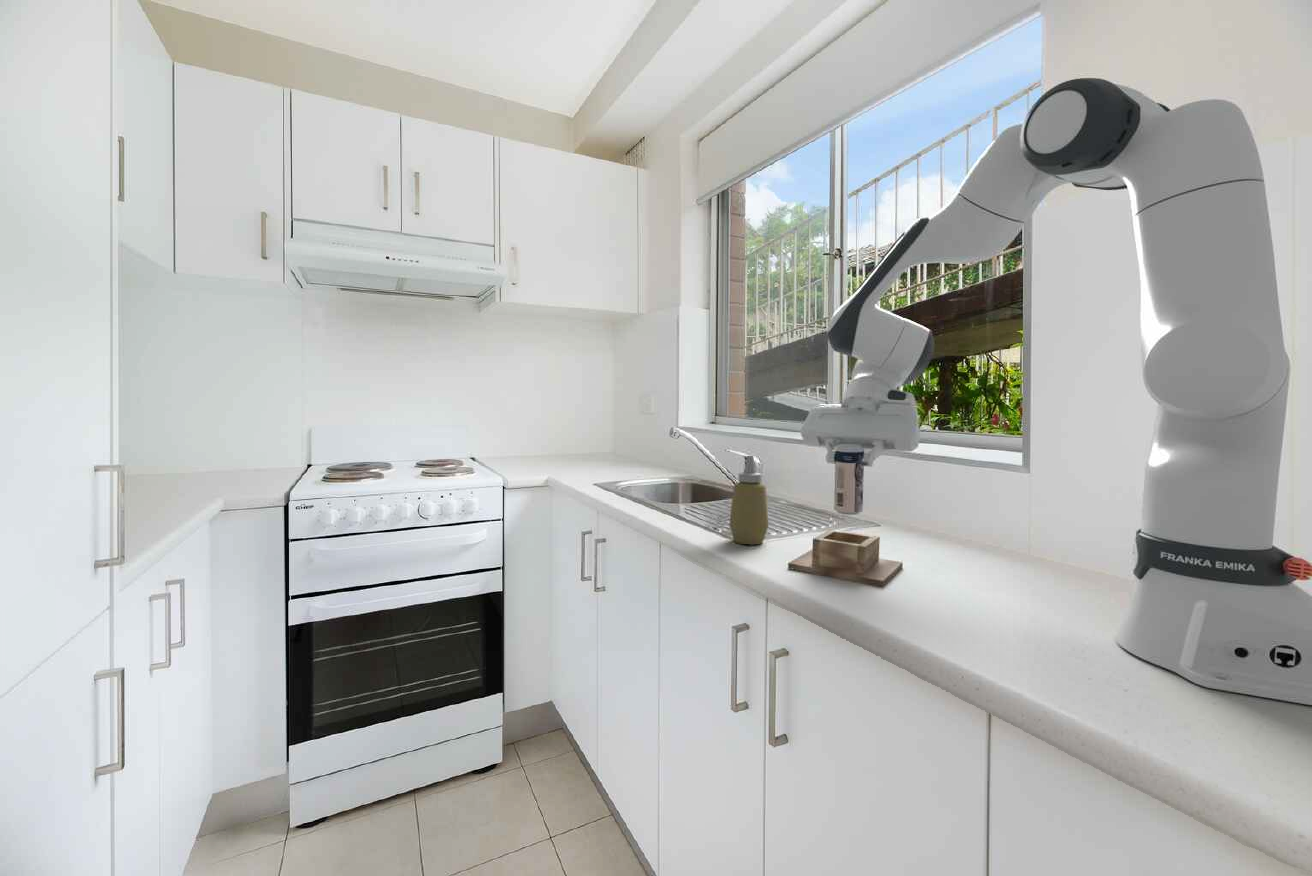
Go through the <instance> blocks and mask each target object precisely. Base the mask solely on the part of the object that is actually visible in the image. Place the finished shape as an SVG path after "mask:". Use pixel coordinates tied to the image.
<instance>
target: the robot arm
mask: <svg viewBox="0 0 1312 876" xmlns="http://www.w3.org/2000/svg"><path fill="white" fill-rule="evenodd" d="M1261 162H1262V161H1261V158H1260V153H1259V150H1258V148H1257V143H1256V141H1255V138H1254V136H1253V133H1252V130H1251V128H1250V125H1249V123H1248V122H1247V119H1246V116H1245V114H1244V113H1243V111H1242V109H1241V108H1240V107H1239V106H1238V105H1236V103H1234V102H1231V101H1229V100H1225V99H1218V98H1216V99H1214V98H1212V99H1203V100H1198V101H1197V100H1195V101H1191V102H1189V103H1186V104H1182V105H1180V106H1178V107H1175V108H1173V109H1170V108H1169V107H1167V106H1166V105H1164V104H1162V103H1159V102H1156V101H1155V100H1153V99H1151V98H1150V97H1148V96H1147V95H1145V94H1143V93H1142V92H1140V91H1138V89H1137V90H1136V89H1135V88H1131V87H1129V86H1125V85H1121V84H1116V83H1113V82H1111V81H1109V80H1106V79H1103V78H1097V77H1080V78H1074V79H1069V80H1065V81H1063V82H1061V83H1058V84H1057V85H1055V86H1053V87H1051V88H1050V89H1049V90H1047V91H1046V92H1045V93H1043V94H1042V95H1041V97H1039V98H1038V99H1037V101H1035V103H1034V104H1033V105H1032V107H1031V108H1030V109H1029V111H1028V113H1027V115H1026V116H1025V118H1024V121H1023V123H1020V124H1015V125H1012V126H1009V127H1008V128H1006V129H1004V130H1003V131H1001V133H999V134H998V135H997V137H995V139H994V140H993V141H992V143H990V145H989V146H988V147H987V148H986V149H985V151H984V152H983V153H982V155H980V157H979V158H978V160H977V161H976V162H975V164H974V165H973V166H972V168H971V169H970V171H969V172H968V173H967V175H966V176H965V178H964V179H963V181H962V183H961V184H960V186H959V187H958V189H957V191H956V192H955V194H954V195H953V196H952V198H951V199H950V201H948V203H946V204H945V206H943V207H942V208H941V209H940V210H938V211H937V212H936V213H934V214H932V215H931V216H926V217H919V218H917V219H916V220H915V221H914V222H912V223H911V224H910V225H909V226H908V227H907V228H906V229H905V230H904V231H903V232H902V233H901V235H900V236H899V237H898V238H897V239H896V241H895V242H894V243H893V244H892V245H891V246H890V247H889V249H888V250H887V251H886V252H885V254H884V255H883V256H882V257H881V258H880V260H879V261H878V262H877V264H875V266H874V267H873V269H872V270H871V271H870V272H869V273H868V275H867V276H866V277H865V278H864V279H863V281H862V282H861V283H860V284H859V286H858V287H857V288H856V289H855V291H854V292H853V293H852V294H851V295H850V296H849V297H848V299H846V301H845V302H844V303H842V305H841V306H840V307H839V308H838V309H836V311H835V312H834V313H833V315H832V316H831V319H830V320H829V323H828V325H827V330H826V332H825V333H826V336H827V339H828V343H829V344H830V345H831V348H832V350H833V351H834V352H836V353H840V354H842V355H845V356H848V357H853V358H855V359H857V360H856V361H855V365H854V367H853V369H852V373H851V380H850V382H849V383H848V384H847V386H846V389H845V392H844V394H843V398H842V401H841V404H824V403H823V404H818V406H814V407H812V408H811V409H810V410H809V412H808V414H807V416H806V419H805V420H804V422H803V424H802V426H801V428H800V435H801V438H802V440H803V442H804V445H806V446H813V447H825V448H826V451H827V452H826V456H825V460H826V463H827V464H833V465H834V464H835V451H836V450H835V449H836V448H837V446H838V444H842V443H852V444H861V445H862V447H863V449H864V450H870V451H868V452H864V453H863V457H862V463H863V464H862V465H863V466H864V467H873V465H874V462H875V460H877V459H878V458H880V456H881V455H883V454H884V451H894V452H895V451H896V452H908V453H909V452H913V451H915V450H916V449H917V448H918V447H919V443H920V425H919V420H918V419H919V418H918V415H919V412H918V405H917V402H916V399H915V396H914V394H913V393H911V392H907V391H903V390H899V389H898V387H903V386H906V385H908V384H910V383H912V382H914V381H916V380H918V379H919V378H920V377H921V376H922V375H923V374H924V372H925V371H926V370H927V369H928V366H929V364H930V362H931V359H932V357H933V353H934V351H935V350H934V349H935V341H934V336H933V333H932V331H931V330H930V329H929V328H927V327H925V326H924V325H921V324H919V323H916V322H915V321H912V320H910V319H907V318H903V317H902V316H899V315H897V314H894V313H893V312H890V311H888V310H886V309H883V308H880V307H879V306H878V305H877V303H878V302H879V301H881V299H882V297H883V296H884V295H885V294H886V293H887V292H888V290H889V289H890V288H891V287H892V286H893V285H894V284H895V282H896V281H897V280H898V279H899V278H900V276H901V275H902V274H904V273H905V271H907V270H908V269H910V268H913V267H915V266H918V265H924V264H937V263H938V264H955V265H957V264H958V265H959V264H960V265H962V264H963V265H964V264H973V263H979V262H983V261H986V260H989V259H991V258H994V257H996V256H998V255H999V254H1000V253H1003V252H1004V250H1006V249H1007V248H1008V247H1009V245H1011V243H1012V242H1013V241H1014V240H1015V238H1016V237H1017V236H1018V235H1019V234H1020V232H1021V231H1022V229H1023V228H1024V226H1025V225H1026V224H1027V222H1028V221H1029V220H1030V218H1031V216H1032V215H1033V213H1035V211H1036V209H1037V208H1038V206H1039V205H1040V204H1041V202H1042V201H1043V200H1044V199H1045V197H1047V195H1048V194H1049V193H1050V192H1052V191H1053V190H1054V189H1056V188H1058V187H1060V186H1063V185H1065V184H1070V183H1071V184H1072V185H1073V186H1074V187H1076V188H1085V189H1095V190H1102V191H1117V190H1120V191H1121V190H1126V189H1127V190H1128V192H1129V197H1130V201H1131V203H1130V204H1131V212H1132V223H1133V231H1134V238H1135V239H1134V240H1135V245H1136V246H1135V247H1136V255H1137V265H1138V273H1139V279H1140V280H1139V282H1140V283H1139V284H1140V306H1139V307H1140V311H1139V312H1140V315H1139V316H1140V322H1139V323H1140V324H1139V325H1140V350H1141V369H1142V379H1143V383H1144V387H1145V389H1146V391H1147V392H1148V394H1149V396H1151V398H1152V399H1153V400H1154V401H1155V402H1156V403H1157V408H1156V415H1155V421H1154V426H1153V432H1152V437H1151V441H1150V442H1151V443H1150V447H1149V452H1148V456H1147V459H1146V462H1145V468H1144V481H1143V494H1142V497H1143V498H1142V507H1141V508H1142V509H1141V510H1142V511H1141V523H1140V524H1141V525H1140V528H1139V529H1138V530H1136V531H1135V532H1136V533H1135V539H1134V540H1133V549H1132V562H1131V563H1132V564H1131V565H1132V566H1131V568H1132V572H1133V575H1134V581H1133V587H1132V591H1131V595H1130V600H1129V603H1128V606H1127V610H1126V613H1125V616H1124V618H1123V621H1122V623H1121V625H1120V628H1119V629H1118V632H1117V633H1116V635H1115V640H1116V642H1117V644H1119V646H1120V647H1121V648H1123V649H1124V650H1126V651H1127V652H1129V653H1131V654H1132V655H1134V656H1136V657H1138V658H1140V659H1142V660H1144V661H1146V662H1149V663H1152V664H1154V665H1156V666H1158V667H1162V668H1165V669H1166V670H1169V671H1171V672H1174V673H1176V674H1178V675H1180V676H1181V677H1183V678H1185V679H1186V680H1189V681H1191V682H1192V683H1194V684H1197V685H1199V686H1202V687H1205V688H1208V689H1214V690H1219V691H1225V692H1231V693H1238V694H1243V695H1250V696H1256V697H1261V698H1266V699H1273V700H1279V701H1283V702H1285V701H1286V702H1291V703H1296V704H1297V703H1298V704H1303V705H1309V706H1312V595H1310V593H1308V592H1306V591H1305V590H1304V589H1302V588H1301V587H1300V586H1298V585H1297V584H1295V583H1294V582H1295V581H1297V580H1299V581H1308V580H1312V578H1311V577H1312V563H1311V562H1309V561H1308V560H1306V559H1304V558H1302V557H1296V556H1294V555H1292V554H1290V553H1288V552H1287V551H1284V550H1282V549H1281V548H1279V547H1276V546H1275V545H1273V542H1274V533H1275V532H1274V531H1275V522H1276V521H1275V520H1276V511H1277V498H1278V497H1277V496H1278V489H1279V488H1278V487H1279V486H1278V485H1279V478H1280V477H1279V475H1280V468H1281V467H1280V466H1281V461H1282V460H1281V458H1282V451H1283V443H1284V441H1283V440H1284V432H1285V423H1286V413H1287V407H1288V406H1287V404H1288V394H1289V385H1290V374H1291V363H1290V359H1289V355H1288V353H1287V352H1286V348H1285V343H1284V333H1283V325H1282V318H1281V311H1280V310H1281V309H1280V299H1279V292H1278V282H1277V273H1276V264H1275V262H1276V261H1275V252H1274V247H1273V246H1274V245H1273V244H1274V243H1273V238H1272V236H1273V235H1272V230H1271V229H1272V228H1271V222H1270V216H1269V206H1268V200H1267V193H1266V184H1265V178H1264V171H1263V167H1262V163H1261Z"/></svg>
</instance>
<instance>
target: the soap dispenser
mask: <svg viewBox="0 0 1312 876" xmlns="http://www.w3.org/2000/svg"><path fill="white" fill-rule="evenodd" d="M745 461H746V462H745V465H744V469H743V472H739V473H738V480H737V481H738V482H736V483H735V484H734V485H733V491H732V499H731V500H732V501H731V506H730V515H729V528H730V532H731V535H732V538H733V541H734V540H735V541H734V542H735V543H738V544H741V545H745V544H750V545H749V546H754V545H755V544H756V545H760V544H762V543H764V540H765V537H766V534H767V530H768V528H769V514H768V513H769V512H768V502H767V501H768V499H767V487H766V485H765V484H763V483H761V482H762V473H760V472H757V468H756V464H755V457H754V455H747V457H746V460H745Z"/></svg>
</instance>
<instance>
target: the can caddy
mask: <svg viewBox="0 0 1312 876" xmlns="http://www.w3.org/2000/svg"><path fill="white" fill-rule="evenodd" d="M880 538H881V537H880V536H879V535H871V534H865V533H857V532H850V531H845V530H839V529H838V530H837V529H829V530H826V531H824V532H823V533H820V534H819V535H817V536H815V537H813V538H812V549H810V550H809V551H807V552H805V553H804V554H802V555H800V556H798V557H796V558H794V559H793V560H791V561H789V562H788V563H787V569H788V568H793V569H797V570H796V571H798V570H802V571H801V572H803V571H805V572H804V573H808V572H809V574H813V575H814V574H815V575H818V574H821V575H820V576H823V575H824V577H829V578H834V579H840V580H843V581H849V582H856V583H860V584H864V585H872V586H875V587H880V588H883V587H885V585H887V584H888V583H889V582H890V581H891V580H892V579H893V578H894V576H896V574H898V573H899V572H900V571H901V570H902V569H903V562H902V561H897V560H890V559H885V558H880V542H881V540H880Z"/></svg>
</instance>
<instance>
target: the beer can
mask: <svg viewBox="0 0 1312 876" xmlns="http://www.w3.org/2000/svg"><path fill="white" fill-rule="evenodd" d="M834 451H835V465H834V494H833V495H834V497H833V499H834V501H833V502H834V503H833V505H834V506H833V510H834V511H836V512H837V513H838V514H841V515H850V516H851V515H852V516H853V515H858V514H860V513H862V512H863V510H864V509H863V508H864V507H863V505H864V474H865V471H864V468H865V466H863V465H862V464H863V463H862V457H863V453H865V449H863V447H862V445H861V444H852V443H842V444H838V446H837V447H836V448H835V450H834Z"/></svg>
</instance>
